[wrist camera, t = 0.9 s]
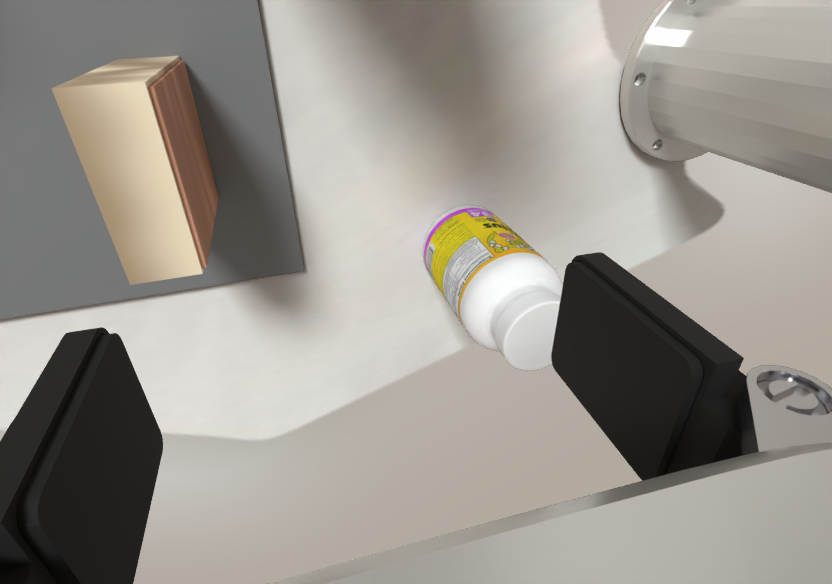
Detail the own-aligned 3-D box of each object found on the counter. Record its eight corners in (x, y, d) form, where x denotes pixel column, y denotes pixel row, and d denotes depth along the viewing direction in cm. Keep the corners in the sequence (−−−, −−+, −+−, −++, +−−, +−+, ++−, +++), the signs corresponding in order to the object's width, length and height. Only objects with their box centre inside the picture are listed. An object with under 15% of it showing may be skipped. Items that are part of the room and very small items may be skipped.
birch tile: (183, 55, 26) (151, 81, 17) (219, 198, 30) (207, 272, 22) (117, 59, 25) (51, 88, 17) (164, 204, 29) (130, 284, 21)
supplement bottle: (515, 235, 38) (616, 325, 28) (458, 294, 40) (532, 401, 29) (463, 183, 35) (555, 263, 24) (401, 250, 36) (463, 353, 25)
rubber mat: (242, -85, 24) (242, -86, 23) (303, 267, 34) (304, 270, 34) (-273, -87, 19) (-284, -89, 19) (-21, 318, 30) (-25, 323, 30)
